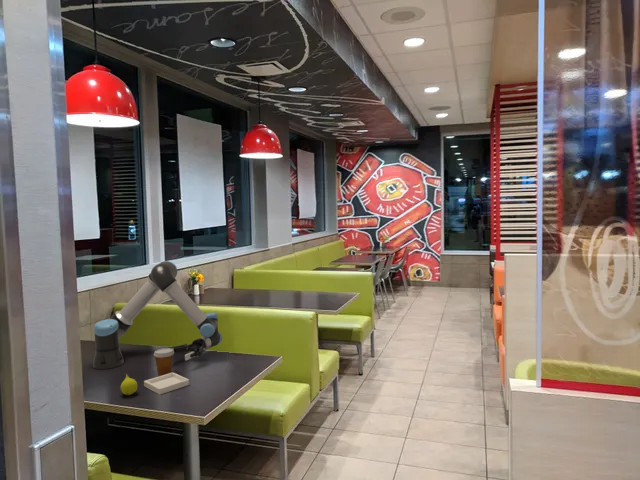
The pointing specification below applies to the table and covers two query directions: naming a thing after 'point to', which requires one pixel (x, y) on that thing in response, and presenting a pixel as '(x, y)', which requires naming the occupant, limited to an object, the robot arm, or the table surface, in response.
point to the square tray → (166, 383)
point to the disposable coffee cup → (164, 360)
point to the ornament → (128, 386)
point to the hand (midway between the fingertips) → (174, 356)
